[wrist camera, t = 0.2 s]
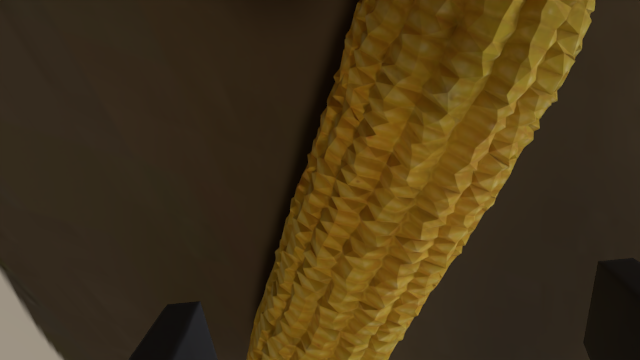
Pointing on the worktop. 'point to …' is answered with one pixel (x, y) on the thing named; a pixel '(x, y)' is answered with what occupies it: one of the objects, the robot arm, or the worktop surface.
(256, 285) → the worktop surface
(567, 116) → the worktop surface
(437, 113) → the food
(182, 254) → the worktop surface
